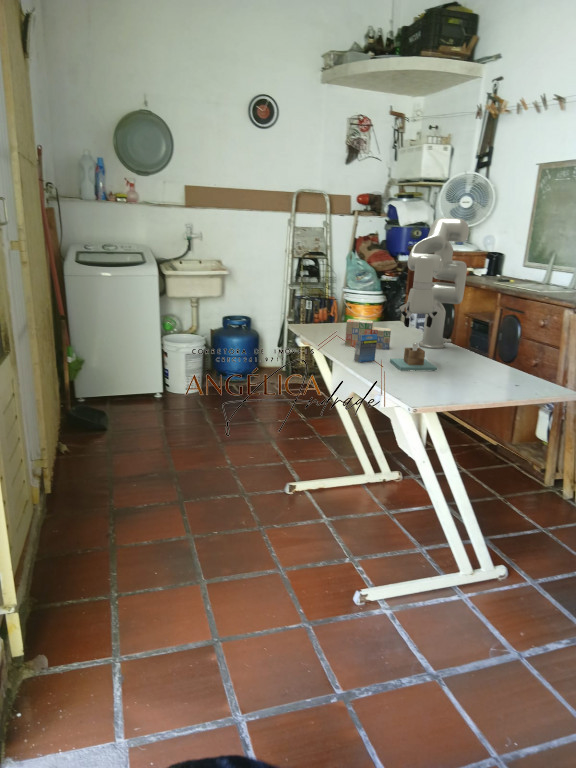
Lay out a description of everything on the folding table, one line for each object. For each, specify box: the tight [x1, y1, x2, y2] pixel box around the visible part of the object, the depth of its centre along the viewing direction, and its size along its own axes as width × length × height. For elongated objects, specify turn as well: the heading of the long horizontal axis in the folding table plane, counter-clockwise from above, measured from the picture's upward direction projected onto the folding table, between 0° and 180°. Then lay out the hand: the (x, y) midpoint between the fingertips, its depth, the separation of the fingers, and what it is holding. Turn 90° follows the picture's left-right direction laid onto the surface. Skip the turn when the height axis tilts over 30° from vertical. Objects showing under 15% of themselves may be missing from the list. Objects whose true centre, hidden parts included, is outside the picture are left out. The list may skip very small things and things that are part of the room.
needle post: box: [411, 342, 419, 351], centre depth 238 cm, size 2×2×9 cm
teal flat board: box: [389, 358, 438, 372], centre depth 239 cm, size 16×14×2 cm
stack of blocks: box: [344, 318, 392, 350], centre depth 270 cm, size 21×6×12 cm, turn 77°
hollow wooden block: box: [403, 347, 426, 365], centre depth 238 cm, size 7×7×6 cm
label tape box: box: [353, 334, 377, 363], centre depth 243 cm, size 9×4×12 cm, turn 119°
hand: (417, 326), depth 234 cm, fingers open, 9 cm apart
